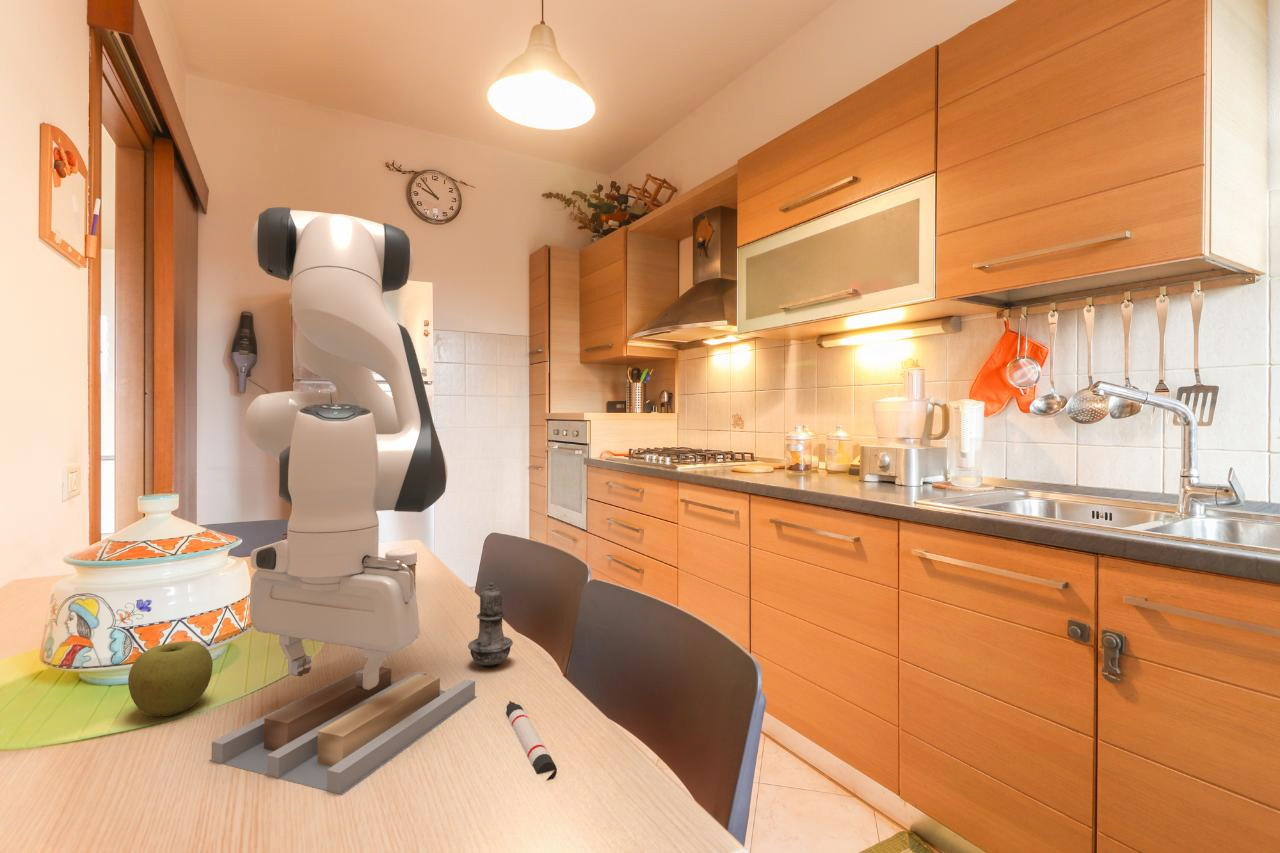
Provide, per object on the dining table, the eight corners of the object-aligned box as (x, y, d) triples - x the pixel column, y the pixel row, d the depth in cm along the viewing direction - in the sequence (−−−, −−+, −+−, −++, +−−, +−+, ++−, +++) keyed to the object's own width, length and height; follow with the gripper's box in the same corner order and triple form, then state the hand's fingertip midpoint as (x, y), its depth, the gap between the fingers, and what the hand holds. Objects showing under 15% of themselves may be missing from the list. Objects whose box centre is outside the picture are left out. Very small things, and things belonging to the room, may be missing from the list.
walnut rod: (263, 748, 58) (264, 718, 58) (370, 690, 71) (370, 665, 71) (287, 754, 57) (287, 723, 57) (390, 693, 70) (391, 668, 70)
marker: (557, 781, 55) (557, 759, 55) (536, 786, 54) (536, 764, 54) (517, 710, 69) (517, 693, 69) (500, 713, 68) (500, 696, 68)
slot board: (209, 768, 56) (209, 741, 56) (368, 684, 75) (368, 663, 75) (342, 803, 51) (342, 773, 51) (477, 703, 70) (477, 681, 70)
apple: (216, 689, 73) (217, 631, 73) (206, 717, 66) (207, 653, 66) (137, 703, 69) (138, 641, 69) (118, 733, 62) (119, 665, 62)
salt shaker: (501, 681, 76) (502, 587, 76) (459, 676, 77) (460, 584, 77) (519, 663, 82) (520, 576, 82) (480, 660, 83) (481, 574, 83)
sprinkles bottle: (387, 645, 88) (388, 555, 89) (381, 636, 92) (382, 550, 92) (419, 639, 91) (420, 551, 91) (411, 630, 95) (412, 547, 95)
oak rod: (317, 763, 56) (317, 731, 56) (417, 699, 69) (418, 673, 69) (342, 769, 55) (342, 736, 55) (439, 703, 68) (439, 677, 68)
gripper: (432, 554, 64) (431, 682, 64) (289, 541, 70) (288, 657, 70) (390, 567, 58) (389, 708, 58) (238, 551, 64) (236, 678, 64)
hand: (332, 680), depth 64 cm, fingers open, 8 cm apart
